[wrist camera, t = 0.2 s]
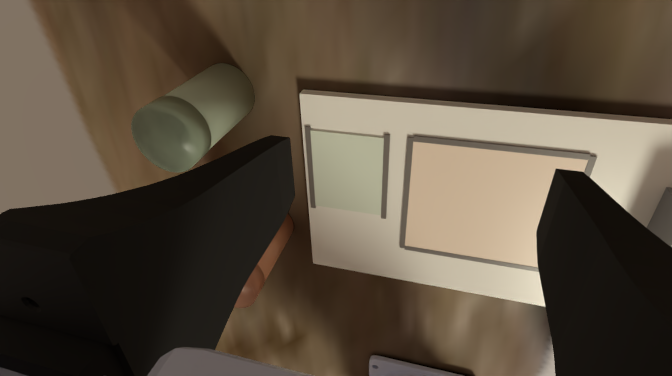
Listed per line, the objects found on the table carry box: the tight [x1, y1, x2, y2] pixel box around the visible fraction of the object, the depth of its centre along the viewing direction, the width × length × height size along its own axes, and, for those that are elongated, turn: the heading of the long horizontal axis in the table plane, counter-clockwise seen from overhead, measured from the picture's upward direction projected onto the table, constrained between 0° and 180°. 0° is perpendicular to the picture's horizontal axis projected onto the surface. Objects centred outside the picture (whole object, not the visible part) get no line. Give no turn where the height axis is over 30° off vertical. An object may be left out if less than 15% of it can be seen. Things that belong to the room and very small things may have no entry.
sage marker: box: [131, 63, 255, 172], centre depth 21 cm, size 3×3×6 cm
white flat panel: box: [299, 89, 672, 307], centre depth 23 cm, size 12×24×1 cm, turn 92°
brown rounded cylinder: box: [234, 213, 294, 308], centre depth 26 cm, size 3×3×6 cm
